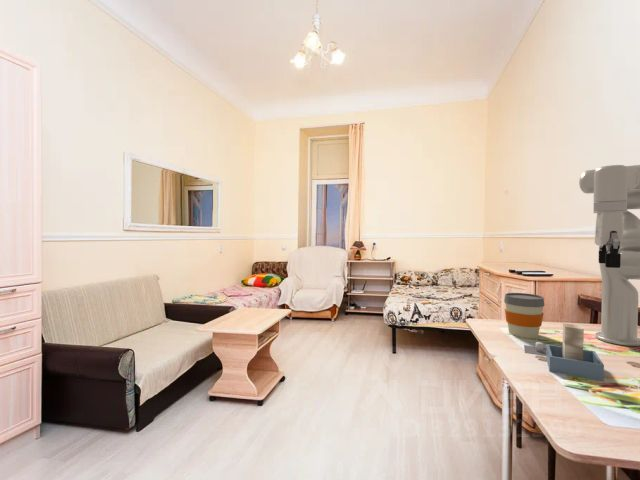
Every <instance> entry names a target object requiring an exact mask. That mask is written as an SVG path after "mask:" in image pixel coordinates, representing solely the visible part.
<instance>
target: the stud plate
mask: <svg viewBox="0 0 640 480" xmlns="http://www.w3.org/2000/svg"><path fill="white" fill-rule="evenodd" d="M523 348H524V354H529V355H536V356H542V357H546V348H545V347H544V342H540V341H536V342H535V346H534V345H533V346H532V345H526V344H524V345H523Z"/></svg>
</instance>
